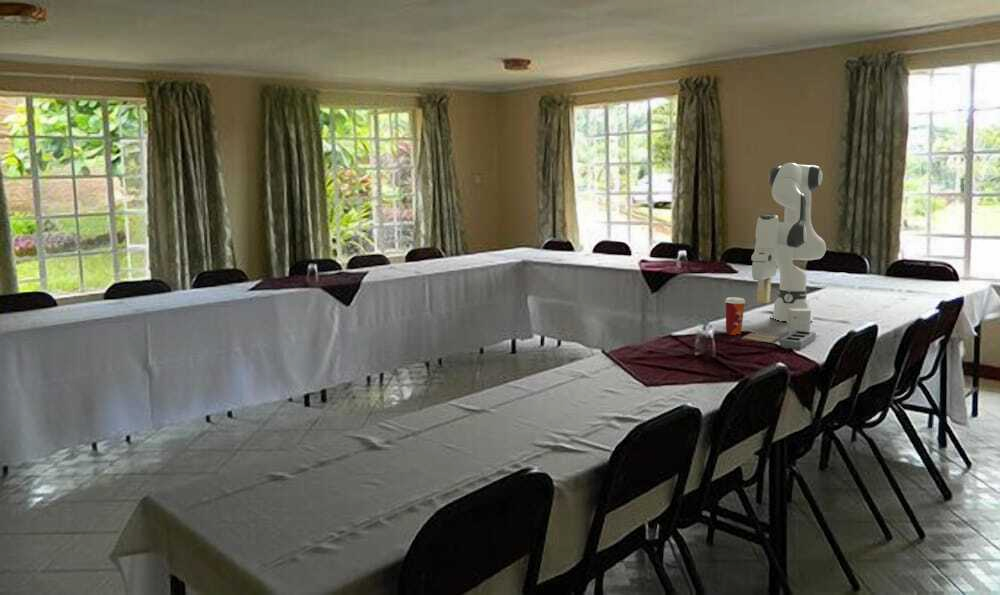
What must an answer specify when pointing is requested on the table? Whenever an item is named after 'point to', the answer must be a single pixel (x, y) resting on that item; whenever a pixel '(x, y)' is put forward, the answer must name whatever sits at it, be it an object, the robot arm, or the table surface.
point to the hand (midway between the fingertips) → (763, 289)
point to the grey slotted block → (797, 339)
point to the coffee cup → (734, 315)
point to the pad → (760, 338)
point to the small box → (798, 320)
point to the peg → (764, 292)
